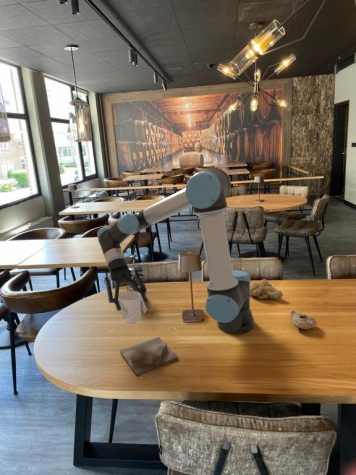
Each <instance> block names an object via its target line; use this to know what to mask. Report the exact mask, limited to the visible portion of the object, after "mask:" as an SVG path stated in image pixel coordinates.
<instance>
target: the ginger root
mask: <svg viewBox="0 0 356 475" xmlns="http://www.w3.org/2000/svg"><path fill="white" fill-rule="evenodd" d="M250 296H253V297H257V298H258V299H260V300H266V299H271V300H278V299H280V298H282V297H283V296H284V294H283V291H282V290H277V288H275V287H274V286H273V285H272V284H271V283H269V282H268V280H267V279H265V278H263V279H261V280H260V281H259V282H253V283H251V285H250Z"/></svg>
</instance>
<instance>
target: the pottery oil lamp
mask: <svg viewBox="0 0 356 475" xmlns="http://www.w3.org/2000/svg"><path fill="white" fill-rule="evenodd" d="M289 313H290V318H291V320H292V323H293V325H294V326H295V327H297V328H298V329H300V328H301V329H300V330H303V329H307V330H310V329H312V328H315V327H316V326H317V325H318V321H317V320H316V319H315V318H314V317H313V316H311V315H310V314H306V313H302V312H299V311H297V310H291V311H290V312H289Z"/></svg>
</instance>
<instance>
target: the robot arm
mask: <svg viewBox="0 0 356 475" xmlns="http://www.w3.org/2000/svg"><path fill="white" fill-rule="evenodd" d="M231 187H232V181H231V178H230V176H229V174H228V173H227V172H226V171H225V170H223V169H221V168H217V167H216V168H215V167H214V168H213V167H212V168H210V169H206V170H202V171H198V172H196V173H195V174H194V175H191V177H190V178H189V179H188V180H187V182H186V185H185V188H183V189H181V190H179V191H178V192H176V193H173V194H171V195H169V196H168V197H165V198H163V199H161V200H159V201H157V202H155V203H153V204H151V205H149V206H148V207H145V208H144V209H142V210H139V211H137V212H135V213H133V214H132V213H127V212H126V213H125V214H123V215H122V216H120V217H119V219H118V220H117V221H115V223H114V224H113V225H111V226H110V225H105V226H103V227H102V228H99V229H98V231H97V235H96V236H97V240H98V243H99V246H100V248H101V251H102V254H103V257H104V259H105V263H106V266H107V269H108V271H109V274H110V275H109V276H105V277H104V280H103V282H104V284H105V286H106V290H107V291H106V292H107V297H108V303H109V304H114V305H115V308H116V310H117V311H118V312H120V315H121V318H122V320H123V319H125V318H126V314H125V311H124V308H123V305H122V303H121V300H120V294H119V293H120V286H121V285H122V284H126V285H127V286H128V285H129V286H131V287H132V288H133V290H134V291H136V292H139V293H140V294H141V311H142V313H143V314H146V312H147V311H148V309H147V307H146V303H147V299H146V300H145V297H144V294H145V293H146V294H147V291H148V290H147V287H146V284H145V285H144V281H142V280H141V278H142V277H141V276H139V275H138V273H139V272H138V270H135V271H130V270H129V268H128V265H129V264H128V263H127V261H126V260H127V259H126V258H125V255H124V252H123V249H122V247H121V244H122V243H123V242H124V241H125V240H126V239H127V238H129V237H130V236H132V235H134V234H136V233H138V232H140V231H142V230H144V229H147V228H149V227H150V226H152V225H155V224H157V223H160V222H161V221H163V220H166V219H167V218H169V217H172V216H175V215H177V214H178V213H179V214H180V213H181V212H183V211H185V210H187V209H189V208H193V213H194V214H195V215H196V216H198V218H199V224H200V230H201V236H202V241H203V247H204V248H203V249H204V254H205V259H206V266H207V271H208V277H209V280H208V282H207V283H206V291H207V299H206V300H205V305H204V306H205V308H204V309H205V311H206V313H207V315H208V316H209V317H210V318H212V319H213V320H214V321H215V322H217V323H216V324H217V327H218V328H219V330H221V331H223V332H226V333H229V334H236V335H238V334H245V333H248V332H250V331H252V330H253V329H254V327H255V319H254V315H253V313H252V311H251V306H250V305H251V297H250V296H251V295H250V286H251V278H250V274H249V273H248V272H247V271H244V270H239V269H233V266H232V260H231V259H232V258H231V253H230V247H229V240H228V235H227V234H228V233H227V226H226V221H225V214H224V213H225V211H226V209H227V208H228V204H227V198H226V197H227V196H228V194H229V193H230V191H231ZM130 275H133V276H132V277H130ZM133 277H134V278H135V280H136V282H137V284H138V286H139V287H140V288H139V287H138V286H137V285H136V284H135V283H134V281H133ZM111 281H113V282H114V283H115V284H114V285H115V286H114V297H113V291H112V289H113V288H112V285H111Z"/></svg>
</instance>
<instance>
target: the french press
mask: <svg viewBox="0 0 356 475" xmlns="http://www.w3.org/2000/svg"><path fill="white" fill-rule="evenodd" d="M136 257H138V254H130V255H128V258H130V259H131V258H132V262H133V264H127V265H128V268H129V270H130V271H135V270H138V275H139V277H140V278H141V280H142V282H143V284H144V285H145V286H146V283H145V282H146V280H145V275H144V274H143V271H144V270H143V269H144V265H143V264H140V263H139V264H138V263H135V258H136ZM130 277H131V278H132V280H133V281H134V283H135V284H136V285H137V286H138V284H137V282H136V280H135V278H134V277H133V275H130ZM138 287H139V286H138ZM139 288H140V287H139ZM129 291H134V290H133V288H132V287H131V286H130V285H129V286H128V285H127V287H126V292H129ZM144 297H145V300H146V301H147V298H148V297H147V292H146V293H145V294H144Z"/></svg>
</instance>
